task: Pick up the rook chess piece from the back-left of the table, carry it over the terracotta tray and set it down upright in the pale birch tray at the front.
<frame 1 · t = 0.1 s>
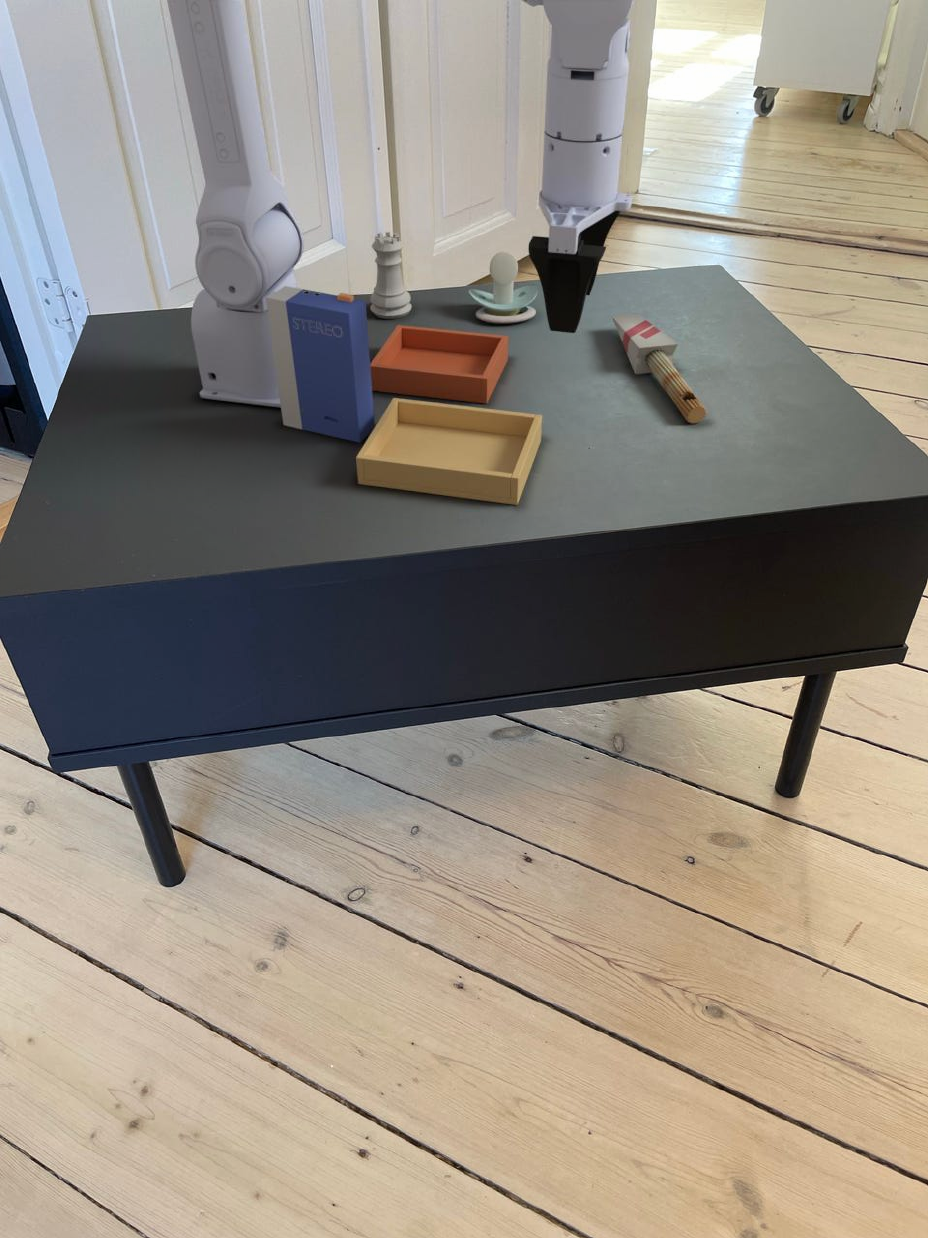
hand: (570, 310, 80), 10 cm above the table, tool pointing down, fingers open, 7 cm apart
pacifier: (504, 316, 104), on the table
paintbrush: (655, 375, 93), on the table
rook chess piece: (391, 313, 105), on the table
terracotta tray: (440, 374, 93), on the table
walkman: (329, 429, 86), on the table
birch tray: (452, 461, 81), on the table
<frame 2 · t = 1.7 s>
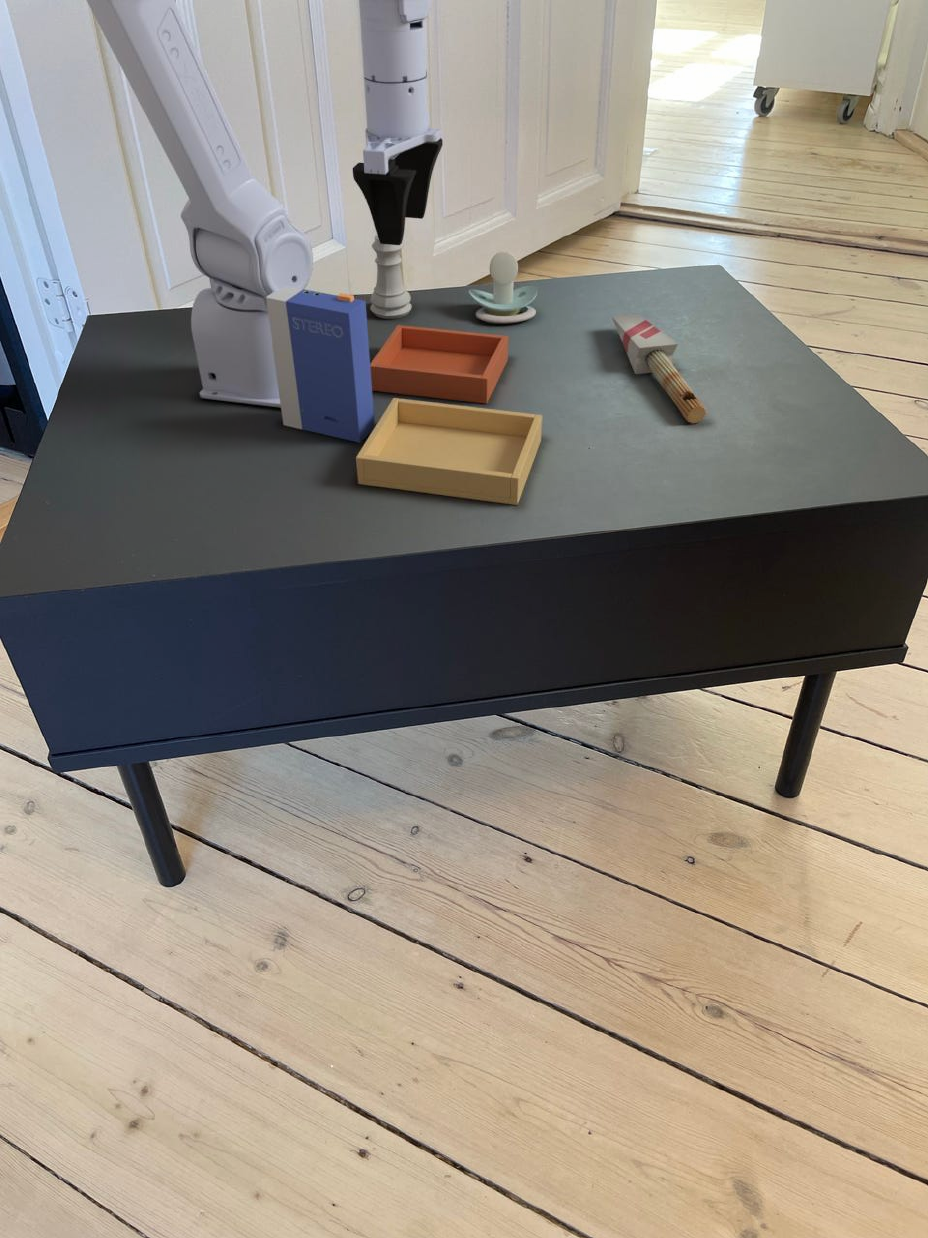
hand: (402, 229, 96), 9 cm above the table, tool pointing down, fingers open, 7 cm apart
nothing on the table moved.
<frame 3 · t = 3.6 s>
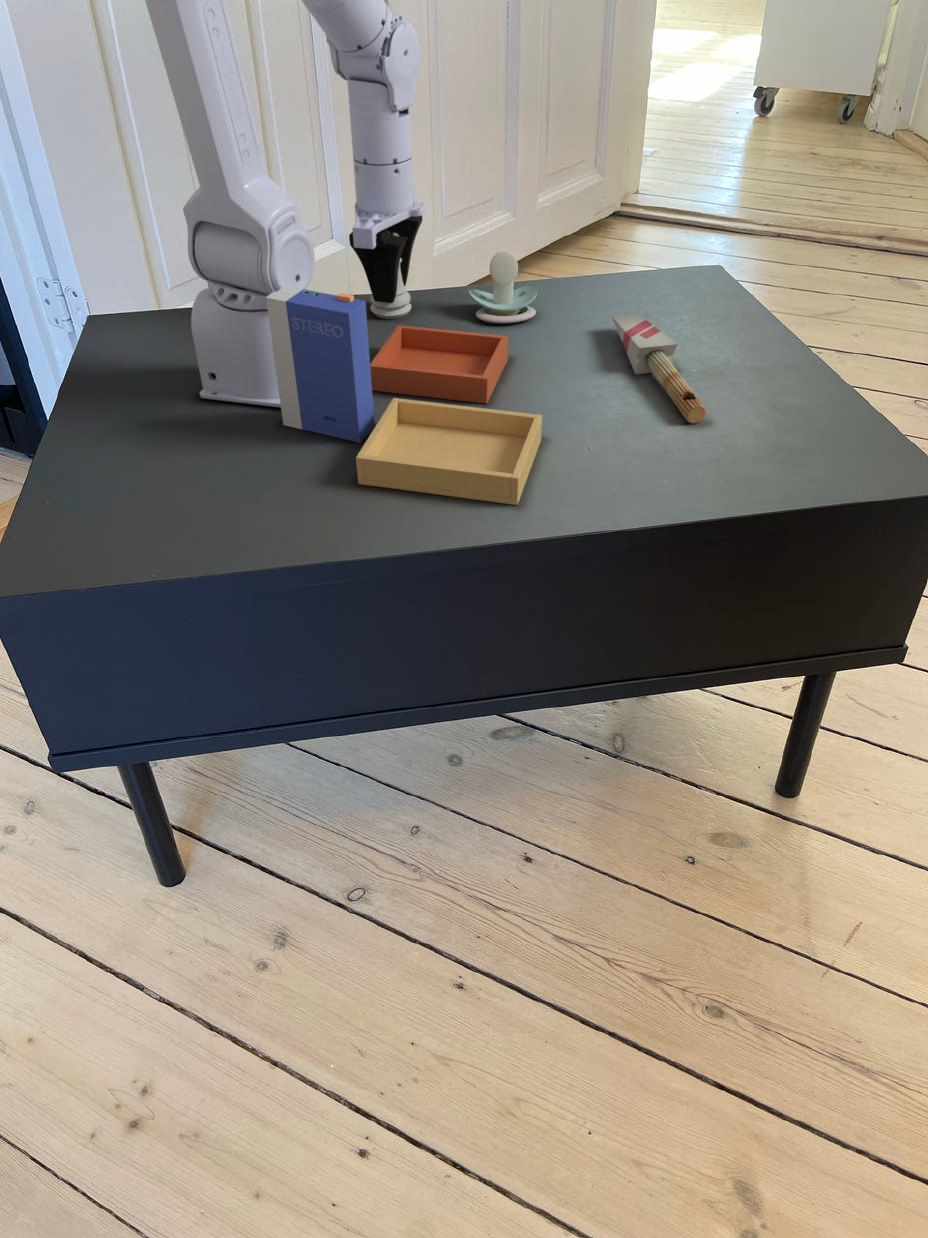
hand: (390, 293, 103), 2 cm above the table, tool pointing down, fingers closed on rook chess piece, 3 cm apart
rook chess piece: (391, 313, 105), on the table, touching gripper
everything else where it was.
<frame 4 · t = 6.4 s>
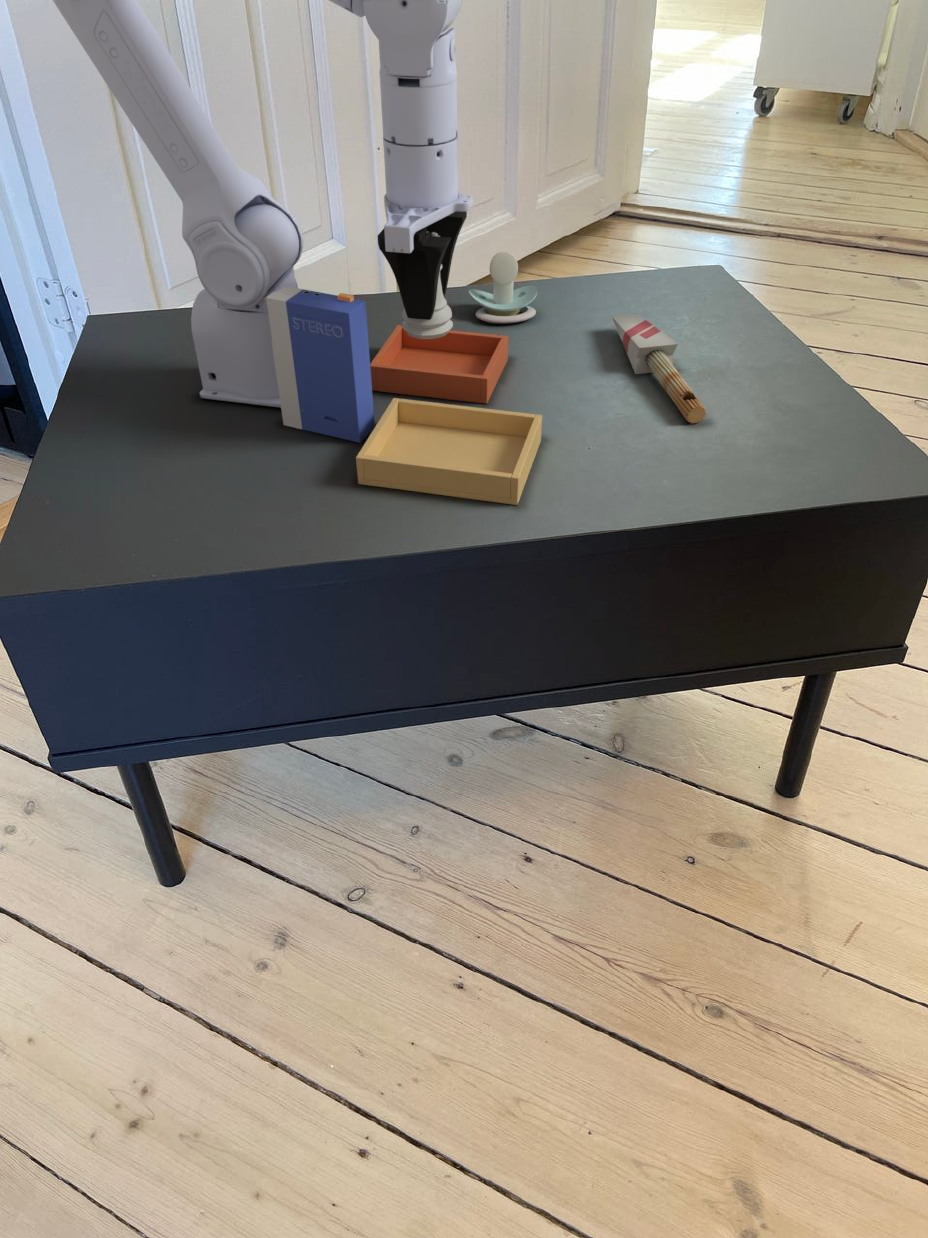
hand: (426, 307, 83), 9 cm above the table, tool pointing down, fingers closed on rook chess piece, 3 cm apart
rook chess piece: (427, 331, 85), point 7 cm above the table, touching gripper
everything else where it was.
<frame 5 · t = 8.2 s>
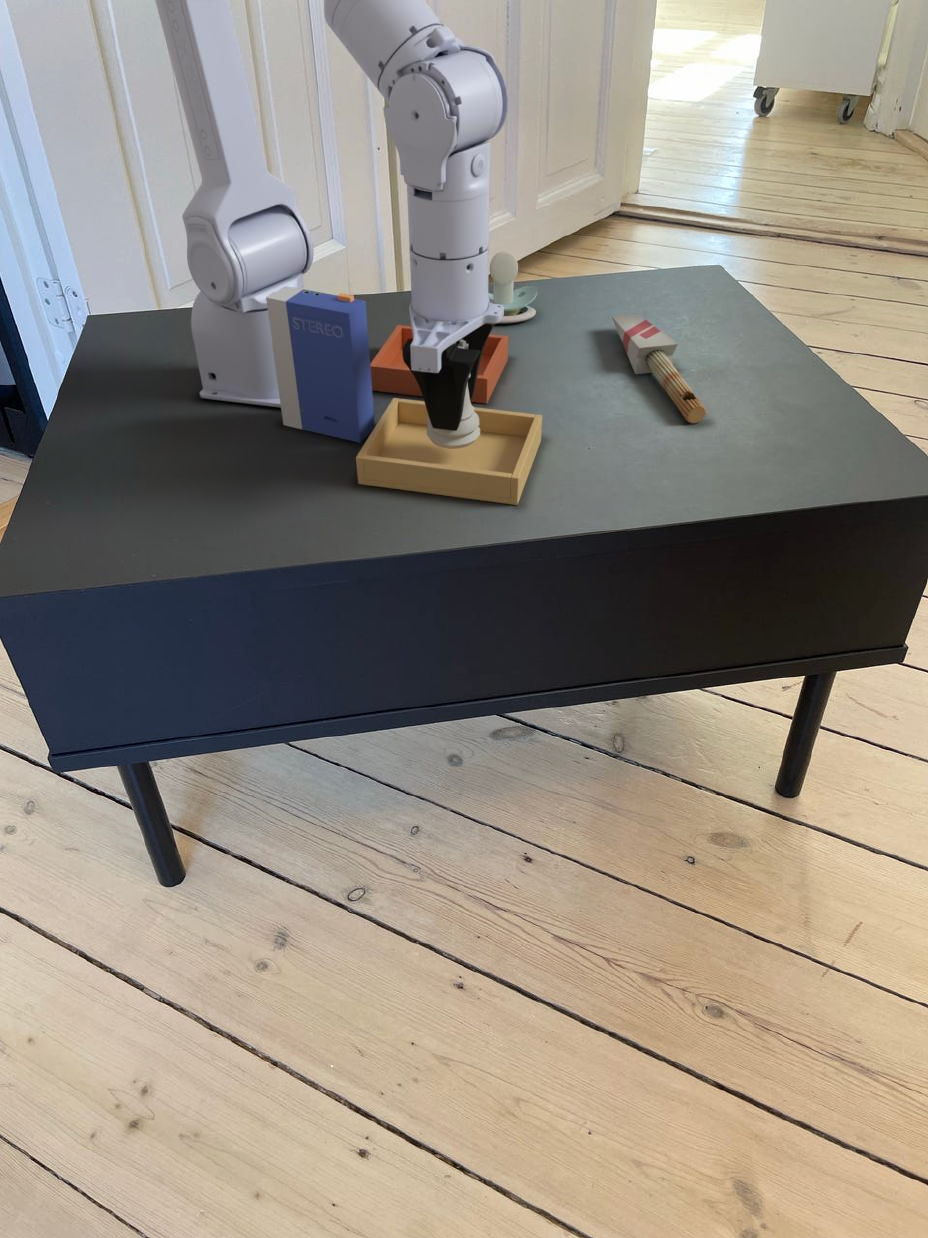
hand: (451, 415, 78), 4 cm above the table, tool pointing down, fingers closed on rook chess piece, 3 cm apart
rook chess piece: (453, 438, 80), point 2 cm above the table, touching gripper
everything else where it was.
when the fingers open (2 cm above the table, at t = 9.2 s): rook chess piece stays where it is, resting on birch tray.
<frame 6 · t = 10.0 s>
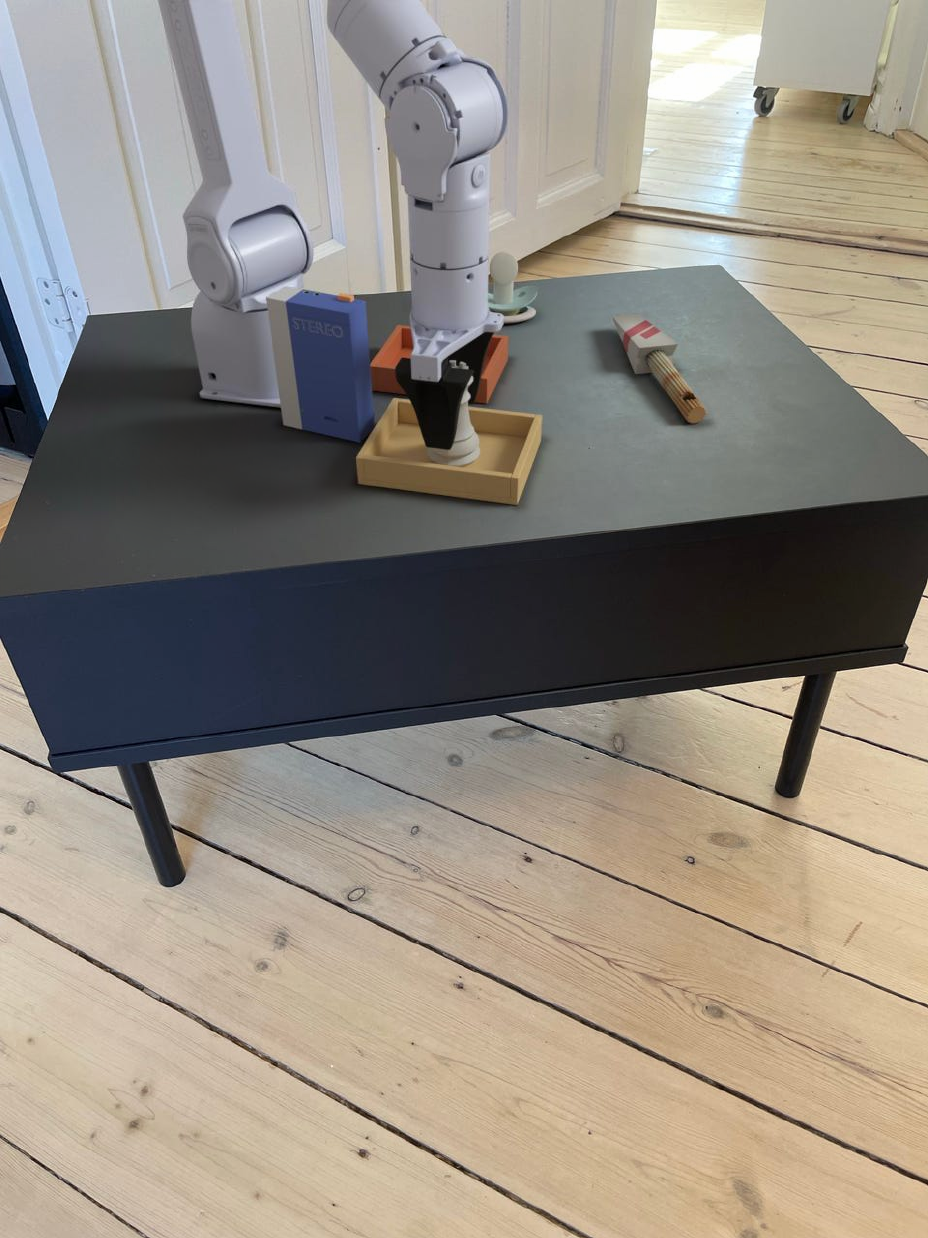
hand: (451, 422, 79), 4 cm above the table, tool pointing down, fingers open, 7 cm apart
rook chess piece: (453, 458, 81), resting on birch tray
everything else where it was.
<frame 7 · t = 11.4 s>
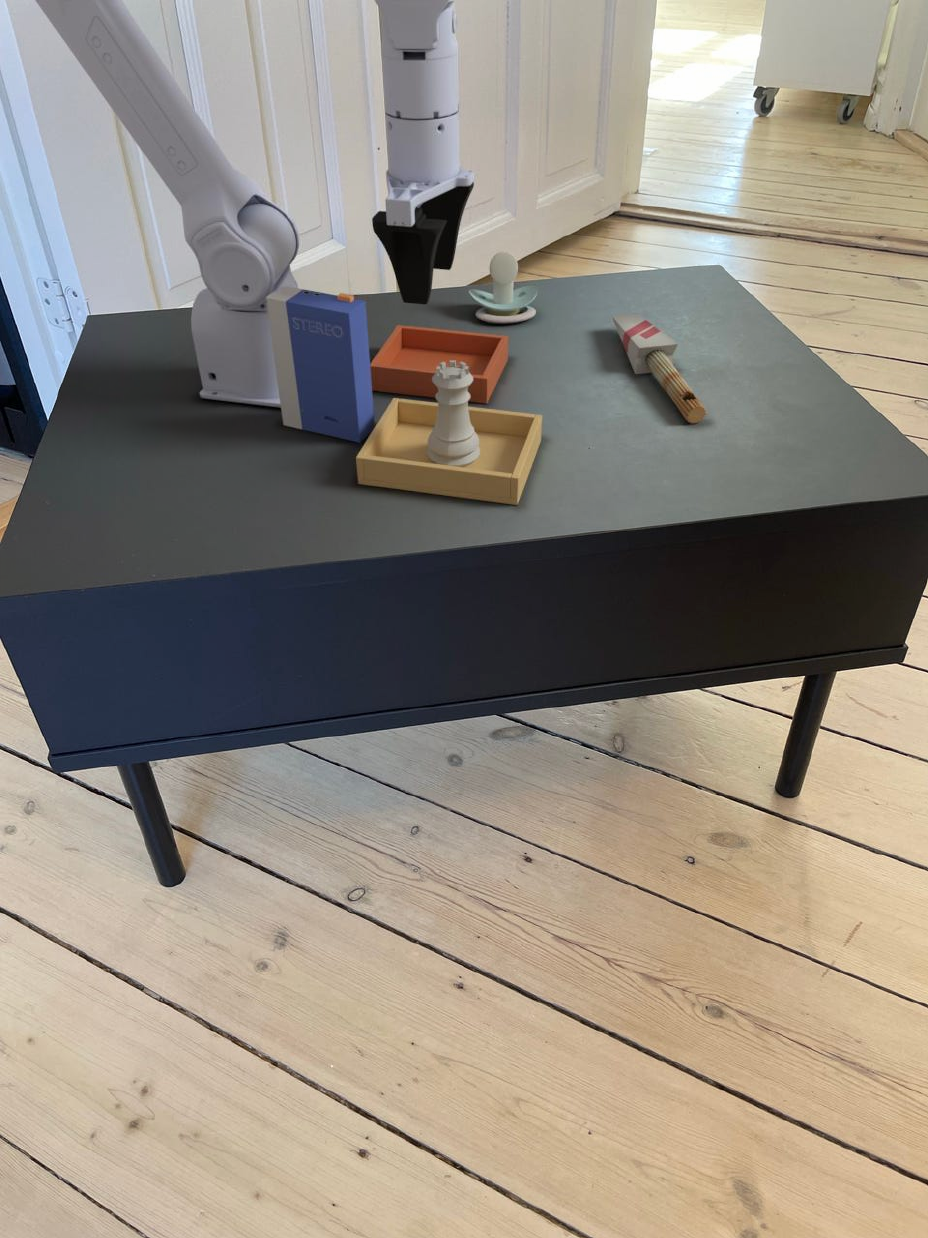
hand: (428, 284, 84), 10 cm above the table, tool pointing down, fingers open, 7 cm apart
nothing on the table moved.
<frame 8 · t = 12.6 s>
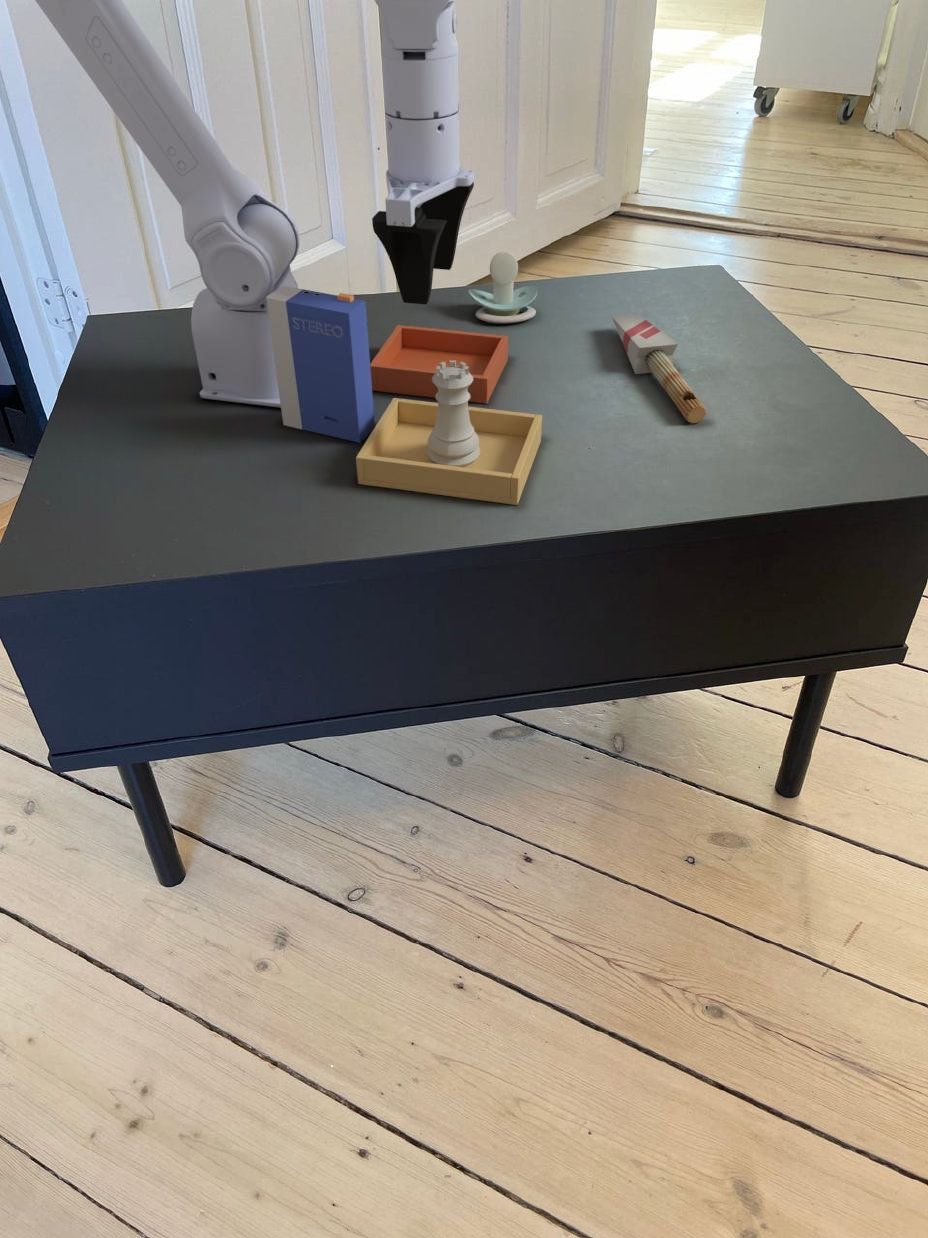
hand: (428, 284, 84), 10 cm above the table, tool pointing down, fingers open, 7 cm apart
nothing on the table moved.
at the end: rook chess piece inside the target area in the birch tray (0.1 cm from its centre), point 0.3 cm above the birch tray's base; rook chess piece tilted 0° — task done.
